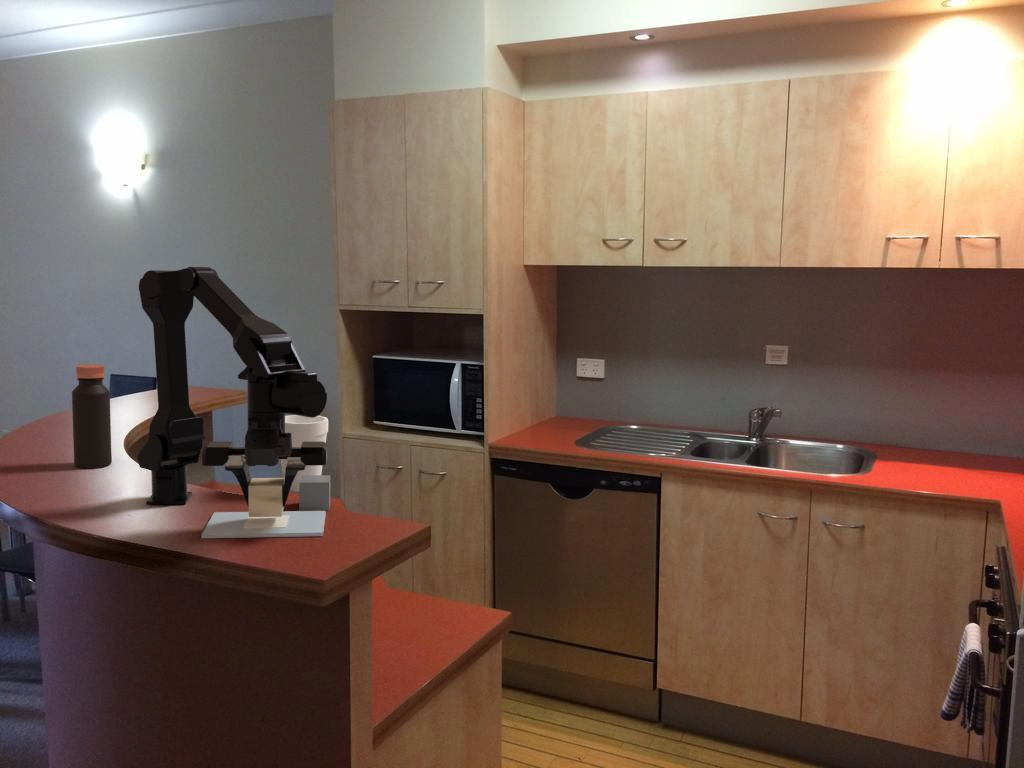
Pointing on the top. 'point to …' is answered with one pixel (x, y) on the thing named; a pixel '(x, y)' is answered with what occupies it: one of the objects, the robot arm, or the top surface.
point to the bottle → (91, 419)
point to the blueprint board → (265, 525)
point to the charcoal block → (314, 492)
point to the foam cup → (305, 432)
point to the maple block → (266, 497)
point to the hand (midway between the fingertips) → (266, 506)
